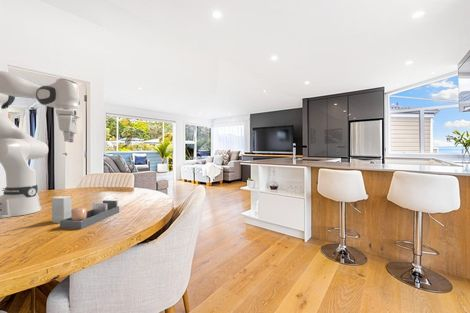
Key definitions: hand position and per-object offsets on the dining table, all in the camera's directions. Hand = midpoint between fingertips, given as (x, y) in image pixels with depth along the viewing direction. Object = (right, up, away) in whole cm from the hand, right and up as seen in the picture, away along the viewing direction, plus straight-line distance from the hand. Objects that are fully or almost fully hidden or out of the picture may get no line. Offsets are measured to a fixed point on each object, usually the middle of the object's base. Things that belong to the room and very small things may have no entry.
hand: (69, 142), depth 101 cm
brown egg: (+13, -37, -11) cm, 41 cm away
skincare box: (+2, -38, -6) cm, 38 cm away
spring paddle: (+14, -36, +1) cm, 39 cm away
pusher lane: (+14, -38, -3) cm, 40 cm away
